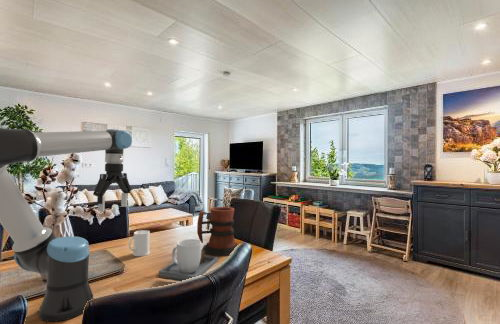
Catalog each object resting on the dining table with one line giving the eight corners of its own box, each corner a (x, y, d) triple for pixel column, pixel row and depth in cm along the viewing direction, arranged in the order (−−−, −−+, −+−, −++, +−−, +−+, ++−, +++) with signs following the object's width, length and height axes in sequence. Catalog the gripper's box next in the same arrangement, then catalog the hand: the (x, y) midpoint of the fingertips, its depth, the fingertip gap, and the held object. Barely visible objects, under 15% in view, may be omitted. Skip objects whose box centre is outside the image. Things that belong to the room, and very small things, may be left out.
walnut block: (201, 263, 128) (202, 253, 128) (192, 263, 128) (192, 252, 128) (204, 259, 133) (204, 250, 133) (195, 259, 133) (195, 249, 133)
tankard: (245, 256, 142) (246, 211, 142) (199, 260, 135) (200, 213, 135) (235, 244, 163) (236, 205, 163) (194, 247, 155) (195, 206, 156)
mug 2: (164, 271, 117) (164, 242, 117) (179, 263, 127) (180, 236, 128) (191, 277, 111) (191, 247, 112) (205, 268, 121) (206, 240, 122)
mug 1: (132, 259, 135) (132, 236, 135) (124, 255, 140) (124, 233, 140) (152, 253, 144) (153, 231, 144) (144, 250, 149) (144, 229, 150)
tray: (196, 283, 109) (196, 276, 109) (158, 278, 114) (158, 271, 114) (218, 263, 132) (218, 257, 132) (186, 259, 137) (186, 253, 137)
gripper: (98, 162, 108) (97, 214, 107) (139, 163, 132) (138, 205, 131) (84, 162, 110) (83, 212, 109) (126, 163, 134) (126, 204, 133)
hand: (113, 208), depth 120 cm, fingers open, 13 cm apart
